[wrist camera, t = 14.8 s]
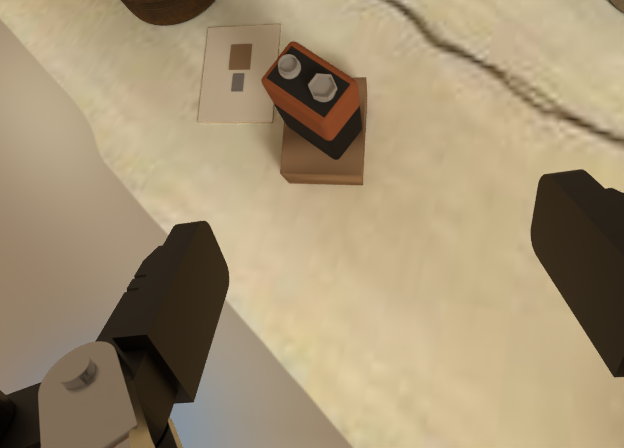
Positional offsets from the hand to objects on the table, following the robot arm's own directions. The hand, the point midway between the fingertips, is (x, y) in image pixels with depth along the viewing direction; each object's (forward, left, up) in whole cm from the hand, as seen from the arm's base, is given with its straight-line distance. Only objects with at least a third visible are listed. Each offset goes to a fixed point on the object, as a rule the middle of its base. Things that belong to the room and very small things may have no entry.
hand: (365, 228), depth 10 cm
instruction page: (-22, -17, -31) cm, 41 cm away
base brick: (-14, -6, -31) cm, 34 cm away
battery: (-13, -6, -27) cm, 31 cm away
